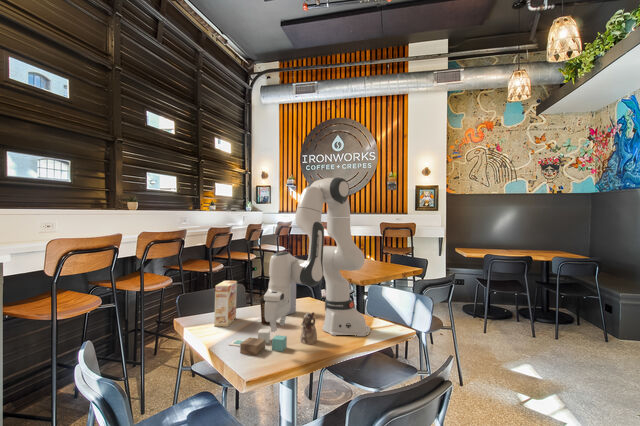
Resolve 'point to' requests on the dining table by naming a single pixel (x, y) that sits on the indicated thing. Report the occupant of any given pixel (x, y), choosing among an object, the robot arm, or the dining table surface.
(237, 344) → the tile
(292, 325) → the dining table surface
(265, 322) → the coffee cup
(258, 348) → the walnut base
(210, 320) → the dining table surface
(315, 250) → the robot arm
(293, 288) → the soap bottle
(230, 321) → the coffeecake box
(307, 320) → the figurine
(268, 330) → the cream cube
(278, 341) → the teal cube
